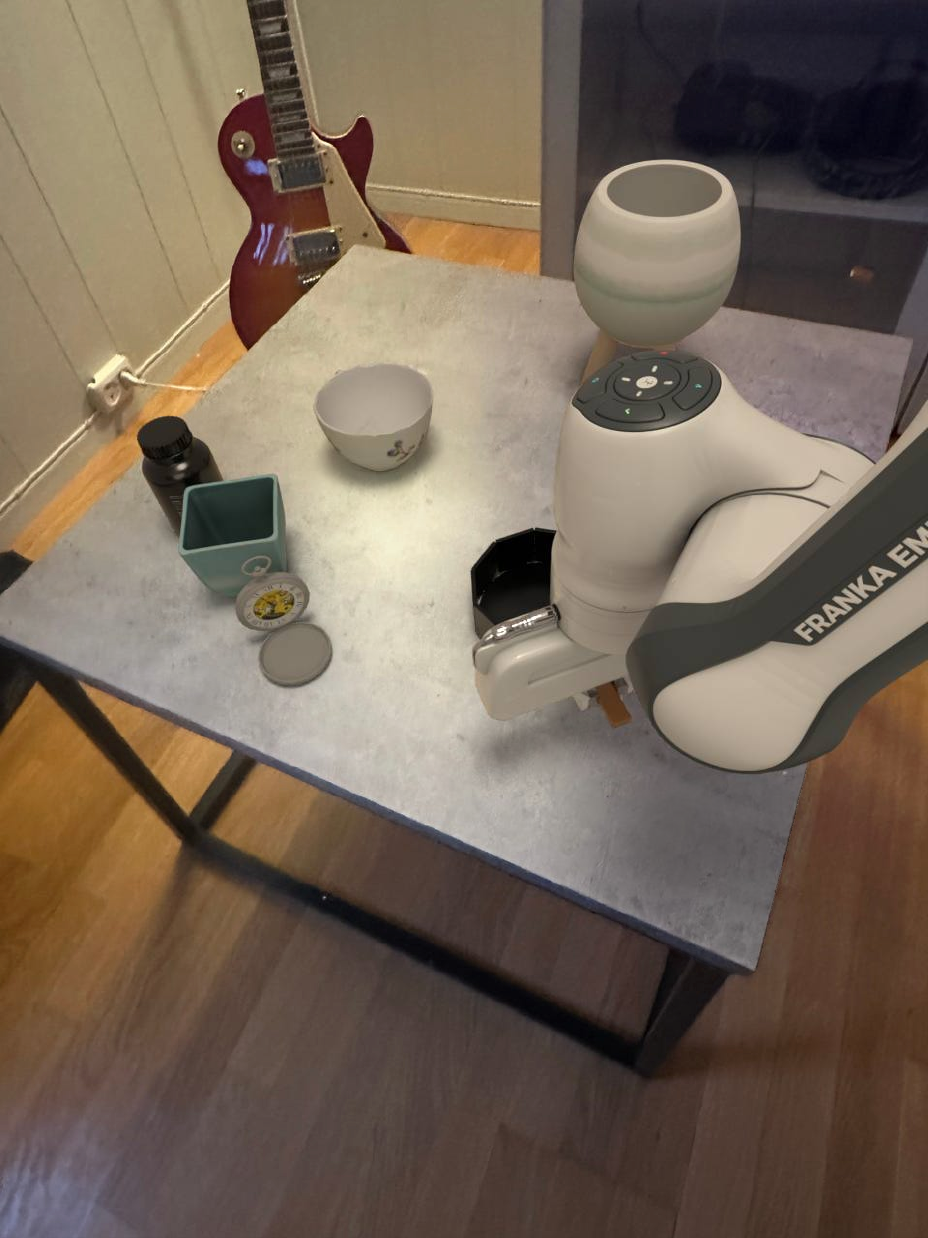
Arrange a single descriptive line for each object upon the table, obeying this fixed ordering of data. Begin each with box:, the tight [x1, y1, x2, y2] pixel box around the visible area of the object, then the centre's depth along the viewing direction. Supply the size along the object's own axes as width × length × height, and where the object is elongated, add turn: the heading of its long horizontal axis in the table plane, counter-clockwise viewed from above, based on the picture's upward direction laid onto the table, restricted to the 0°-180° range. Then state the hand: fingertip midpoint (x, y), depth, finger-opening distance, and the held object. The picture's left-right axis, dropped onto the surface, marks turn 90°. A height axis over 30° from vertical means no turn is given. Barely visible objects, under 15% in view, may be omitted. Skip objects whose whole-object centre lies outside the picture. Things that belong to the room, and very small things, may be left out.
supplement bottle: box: [136, 415, 225, 537], centre depth 76 cm, size 7×7×12 cm
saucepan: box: [469, 527, 633, 730], centre depth 66 cm, size 21×13×5 cm, turn 21°
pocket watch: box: [234, 556, 333, 686], centre depth 66 cm, size 8×8×10 cm
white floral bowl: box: [312, 361, 434, 472], centre depth 82 cm, size 15×12×8 cm
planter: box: [573, 159, 742, 386], centre depth 80 cm, size 16×16×22 cm
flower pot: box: [177, 473, 287, 598], centre depth 72 cm, size 9×9×9 cm
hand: (602, 694), depth 61 cm, fingers closed on saucepan
